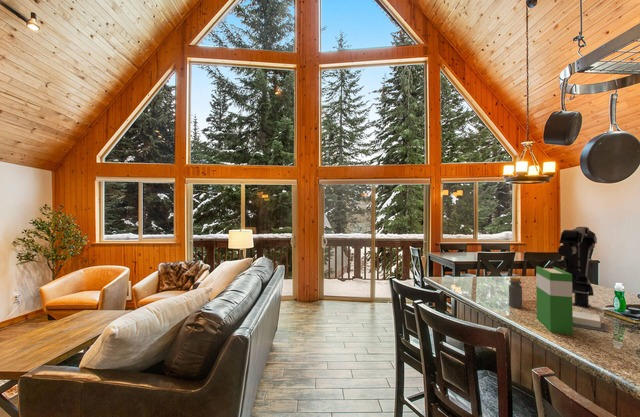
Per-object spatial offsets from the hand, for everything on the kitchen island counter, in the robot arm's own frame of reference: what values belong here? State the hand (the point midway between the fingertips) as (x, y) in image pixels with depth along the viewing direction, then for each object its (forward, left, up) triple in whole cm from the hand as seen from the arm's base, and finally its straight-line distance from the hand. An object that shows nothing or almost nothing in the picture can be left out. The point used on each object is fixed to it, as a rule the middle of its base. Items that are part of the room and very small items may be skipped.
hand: (572, 286), depth 154 cm
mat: (+20, +8, -12) cm, 25 cm away
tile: (+13, +7, -10) cm, 18 cm away
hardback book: (+34, +2, -12) cm, 36 cm away
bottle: (+15, -20, -12) cm, 28 cm away
